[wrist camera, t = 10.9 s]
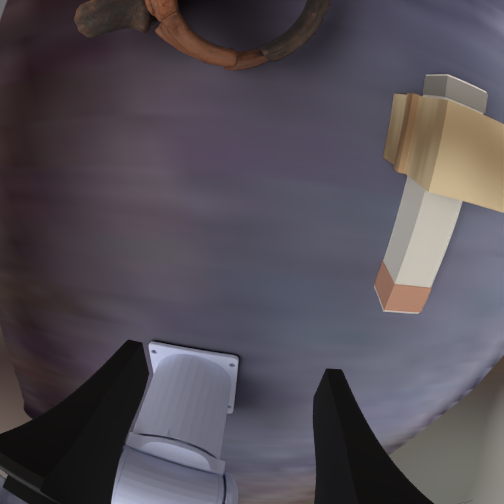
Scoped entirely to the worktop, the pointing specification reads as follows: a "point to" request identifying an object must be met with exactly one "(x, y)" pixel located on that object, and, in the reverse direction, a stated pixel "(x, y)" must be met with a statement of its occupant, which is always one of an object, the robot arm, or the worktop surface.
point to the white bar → (422, 220)
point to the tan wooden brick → (447, 149)
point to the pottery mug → (184, 38)
